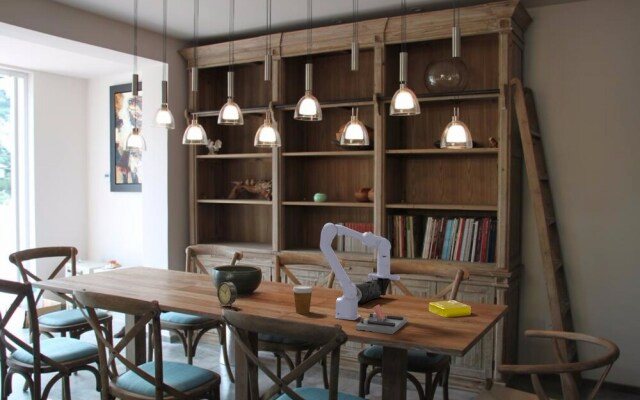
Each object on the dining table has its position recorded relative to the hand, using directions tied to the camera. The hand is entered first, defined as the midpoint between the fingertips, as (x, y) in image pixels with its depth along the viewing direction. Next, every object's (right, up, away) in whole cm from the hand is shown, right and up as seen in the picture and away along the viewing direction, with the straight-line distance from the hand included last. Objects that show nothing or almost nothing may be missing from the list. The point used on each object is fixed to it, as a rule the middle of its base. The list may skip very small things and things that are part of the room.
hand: (383, 295), depth 261 cm
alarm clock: (-74, -10, +24) cm, 78 cm away
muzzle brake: (-4, -10, +37) cm, 39 cm away
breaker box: (-2, -11, -14) cm, 18 cm away
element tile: (+32, -11, +12) cm, 36 cm away
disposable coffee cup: (-37, -10, +11) cm, 40 cm away
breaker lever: (-2, -8, -14) cm, 16 cm away
